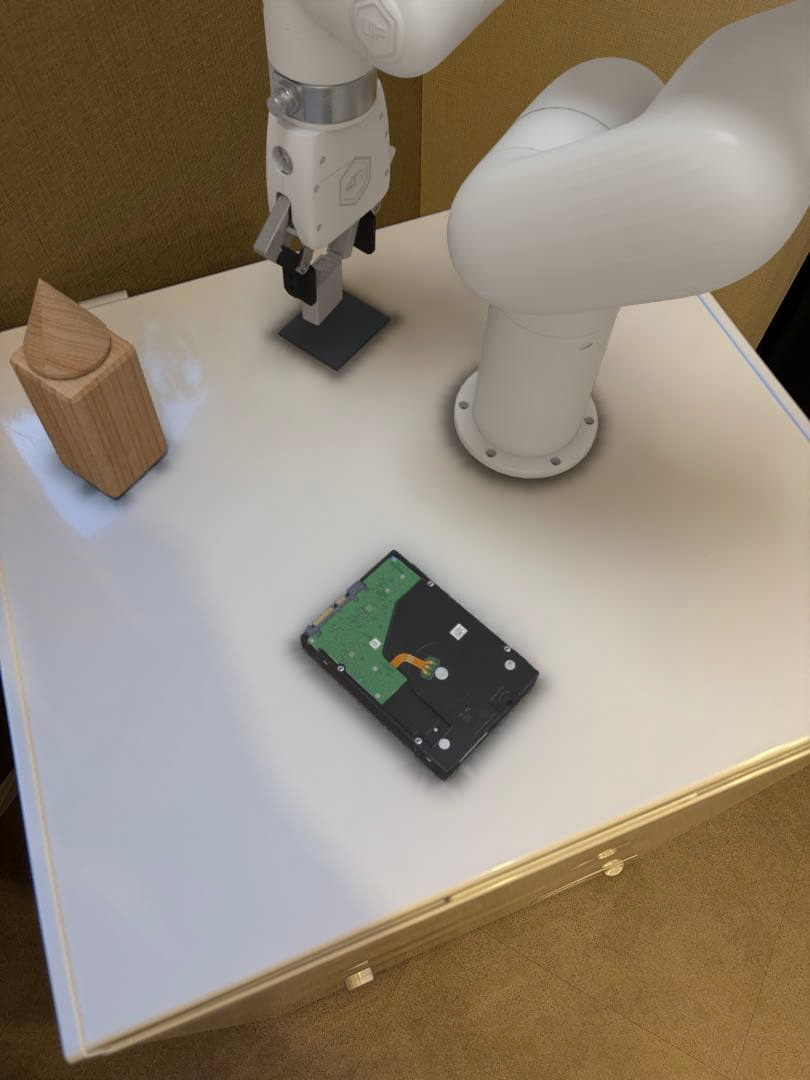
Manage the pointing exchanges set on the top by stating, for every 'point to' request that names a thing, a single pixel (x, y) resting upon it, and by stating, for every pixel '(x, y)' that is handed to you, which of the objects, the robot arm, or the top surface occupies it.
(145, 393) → the decorative item
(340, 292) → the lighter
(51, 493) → the top surface
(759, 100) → the robot arm
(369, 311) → the mat
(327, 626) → the disk drive
